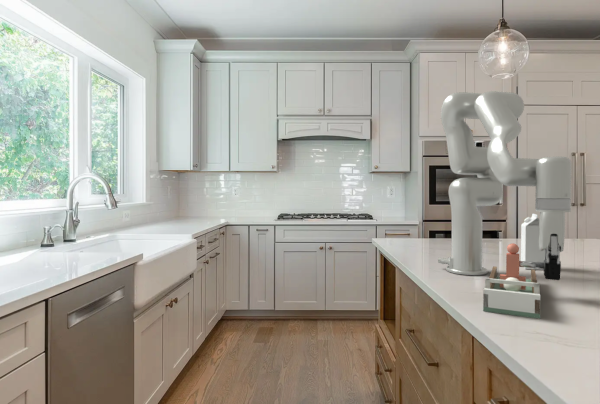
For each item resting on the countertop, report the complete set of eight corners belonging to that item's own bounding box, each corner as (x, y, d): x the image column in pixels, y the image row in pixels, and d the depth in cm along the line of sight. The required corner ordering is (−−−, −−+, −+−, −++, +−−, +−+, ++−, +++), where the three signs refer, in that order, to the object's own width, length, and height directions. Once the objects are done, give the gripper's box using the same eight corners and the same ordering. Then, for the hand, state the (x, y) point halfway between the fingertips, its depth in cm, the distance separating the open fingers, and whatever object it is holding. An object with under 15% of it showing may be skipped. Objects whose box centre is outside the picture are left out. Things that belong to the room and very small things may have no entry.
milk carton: (543, 266, 138) (543, 213, 138) (548, 270, 131) (549, 214, 131) (520, 265, 140) (521, 213, 140) (525, 269, 134) (525, 214, 133)
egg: (503, 280, 98) (503, 274, 102) (503, 294, 99) (503, 288, 103) (521, 282, 96) (521, 275, 100) (521, 296, 97) (521, 289, 101)
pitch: (483, 311, 88) (483, 293, 88) (493, 279, 119) (493, 266, 119) (540, 318, 82) (540, 300, 82) (534, 283, 114) (535, 269, 114)
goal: (483, 306, 88) (483, 283, 88) (485, 300, 93) (485, 277, 93) (540, 314, 82) (540, 288, 82) (539, 306, 88) (539, 283, 87)
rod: (499, 287, 103) (500, 243, 103) (500, 285, 106) (500, 242, 105) (560, 293, 96) (561, 246, 96) (559, 291, 99) (560, 245, 99)
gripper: (534, 204, 107) (533, 270, 107) (536, 206, 93) (536, 283, 93) (566, 205, 103) (566, 273, 104) (575, 207, 89) (574, 286, 89)
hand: (551, 277), depth 98 cm, fingers closed on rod, 3 cm apart
